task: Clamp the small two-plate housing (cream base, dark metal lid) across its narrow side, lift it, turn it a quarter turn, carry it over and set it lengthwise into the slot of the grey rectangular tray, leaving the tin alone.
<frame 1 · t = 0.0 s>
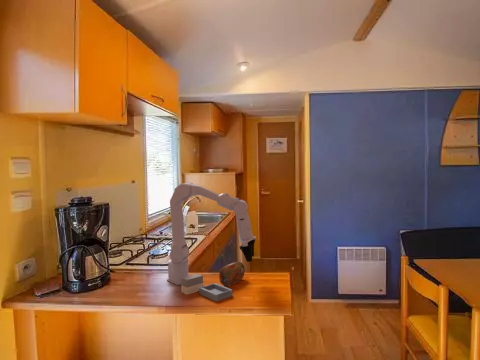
hand: (250, 258, 151), 11 cm above the counter, tool pointing down, fingers open, 7 cm apart
housing: (192, 291, 143), on the counter
grey rectangular tray: (215, 294, 138), on the counter
tin: (232, 283, 152), on the counter
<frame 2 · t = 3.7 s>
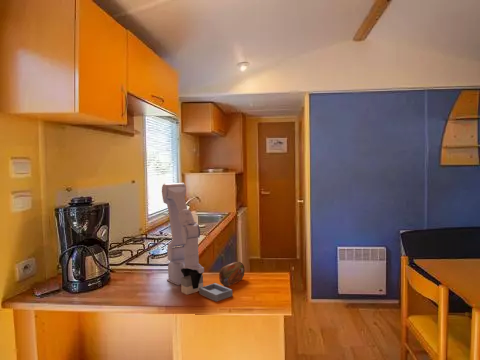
hand: (192, 286, 143), 2 cm above the counter, tool pointing down, fingers closed on housing, 4 cm apart
housing: (192, 290, 143), on the counter, touching gripper
everything else where it was.
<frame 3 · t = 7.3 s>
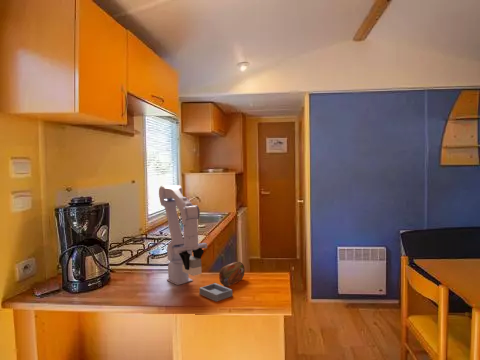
hand: (191, 268, 143), 9 cm above the counter, tool pointing down, fingers closed on housing, 4 cm apart
housing: (191, 272, 143), point 8 cm above the counter, touching gripper
everything else where it was.
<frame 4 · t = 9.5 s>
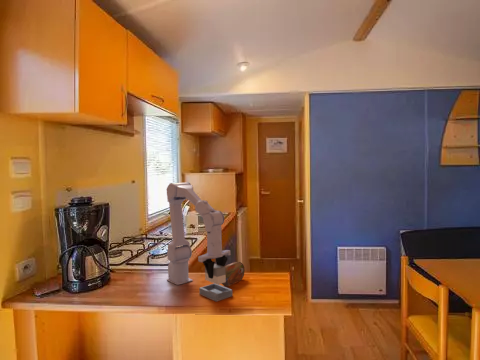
hand: (215, 276, 138), 7 cm above the counter, tool pointing down, fingers closed on housing, 4 cm apart
housing: (215, 281, 138), point 6 cm above the counter, touching gripper
everything else where it was.
when the fingers open (4 cm above the counter, at t = 11.4 s): housing stays where it is, resting on grey rectangular tray.
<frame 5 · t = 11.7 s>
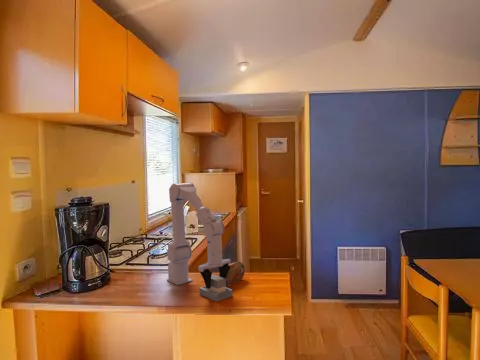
hand: (215, 285, 138), 4 cm above the counter, tool pointing down, fingers open, 7 cm apart
housing: (215, 292, 138), point 1 cm above the counter, touching grey rectangular tray
everything else where it was.
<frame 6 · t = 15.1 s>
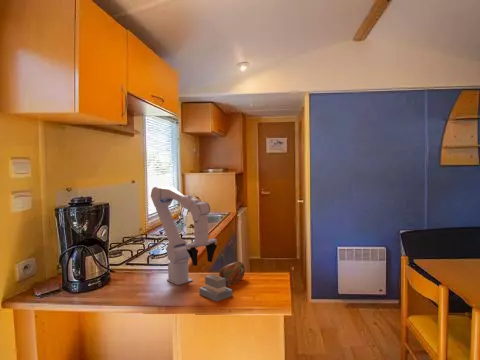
hand: (202, 263, 146), 10 cm above the counter, tool pointing down, fingers open, 7 cm apart
nothing on the counter moved.
at the end: housing 0.1 cm off-centre on the grey rectangular tray, point 1.0 cm above the grey rectangular tray's base; housing tilted 0°; the gripper is holding nothing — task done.
